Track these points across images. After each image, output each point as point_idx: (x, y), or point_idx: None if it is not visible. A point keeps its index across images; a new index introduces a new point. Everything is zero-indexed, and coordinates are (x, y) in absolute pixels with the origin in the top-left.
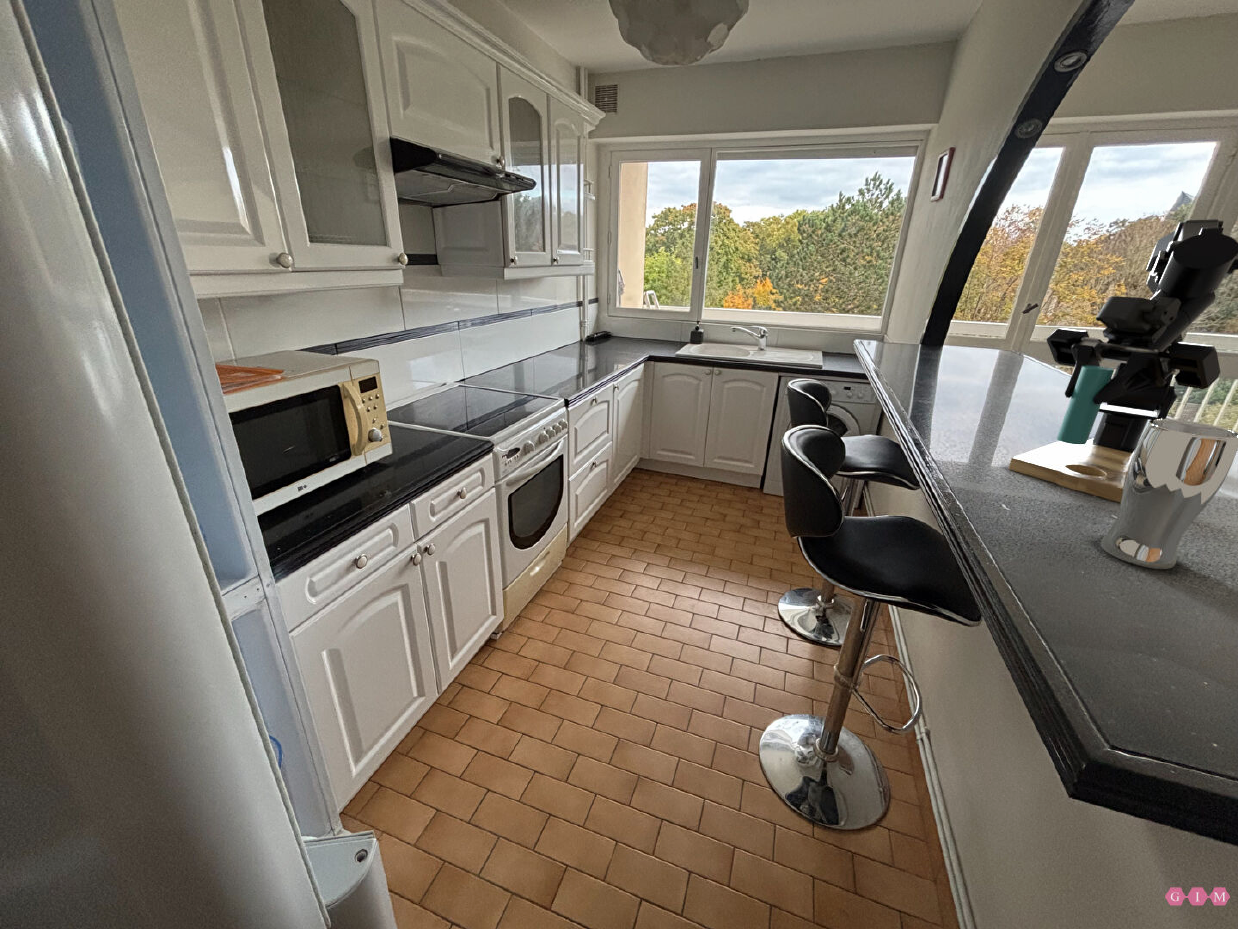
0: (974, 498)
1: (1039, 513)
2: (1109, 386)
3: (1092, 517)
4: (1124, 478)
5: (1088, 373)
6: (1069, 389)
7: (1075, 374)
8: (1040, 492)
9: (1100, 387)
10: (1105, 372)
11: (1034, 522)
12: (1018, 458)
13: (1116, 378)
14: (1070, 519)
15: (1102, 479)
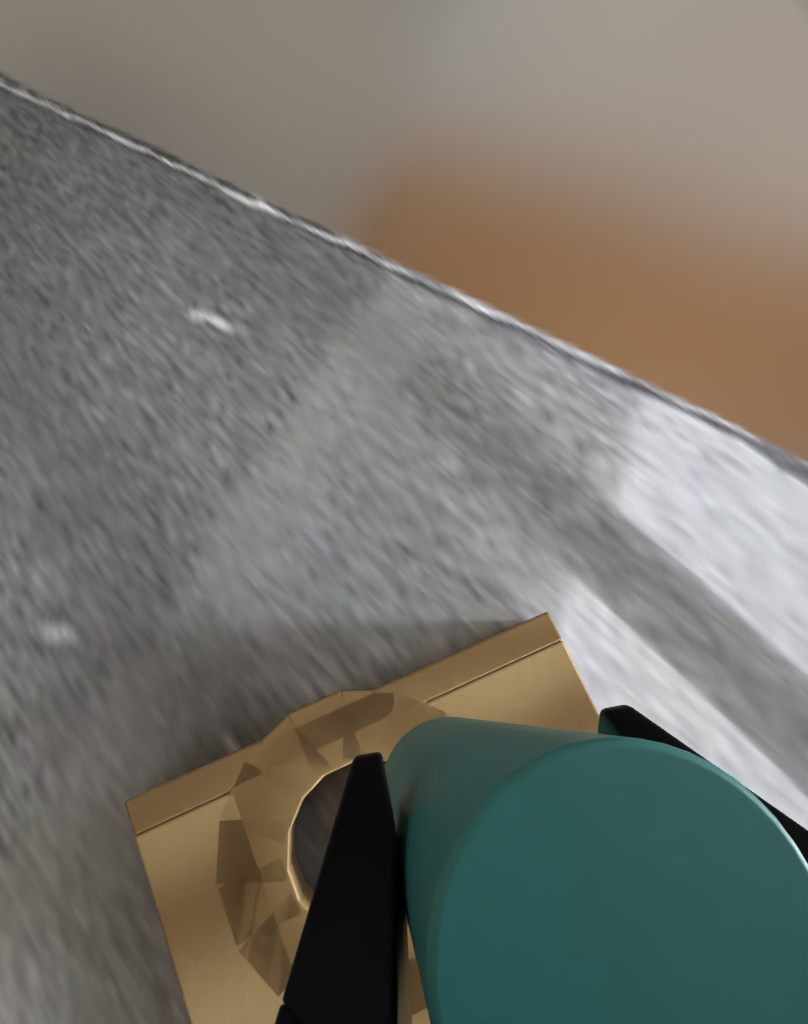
0: (285, 276)
1: (146, 388)
2: (347, 897)
3: (77, 541)
4: (243, 953)
5: (555, 739)
6: (627, 728)
7: (805, 859)
8: (297, 546)
9: (409, 840)
10: (429, 877)
11: (96, 319)
12: (536, 634)
13: (347, 1018)
14: (84, 449)
15: (252, 811)
